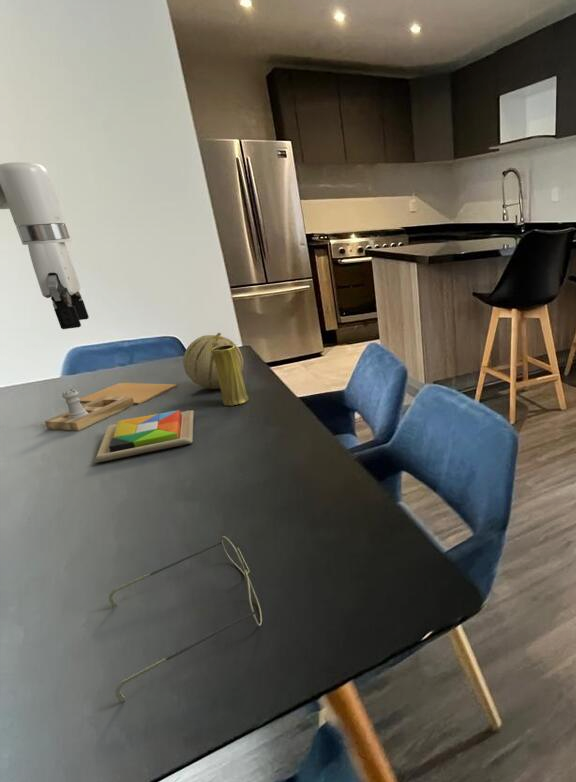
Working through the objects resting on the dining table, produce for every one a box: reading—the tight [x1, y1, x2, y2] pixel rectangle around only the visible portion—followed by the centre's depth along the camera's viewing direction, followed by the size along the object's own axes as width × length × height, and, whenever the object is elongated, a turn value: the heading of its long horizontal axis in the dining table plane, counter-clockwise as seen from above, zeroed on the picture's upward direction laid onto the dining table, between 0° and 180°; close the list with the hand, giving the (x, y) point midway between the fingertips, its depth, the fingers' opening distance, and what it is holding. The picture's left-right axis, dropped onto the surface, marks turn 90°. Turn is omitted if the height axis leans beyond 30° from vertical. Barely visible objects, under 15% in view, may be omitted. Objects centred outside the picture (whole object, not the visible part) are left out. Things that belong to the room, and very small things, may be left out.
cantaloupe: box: [182, 332, 244, 390], centre depth 134 cm, size 15×15×15 cm
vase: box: [212, 345, 250, 407], centre depth 122 cm, size 6×6×14 cm
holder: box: [44, 396, 135, 432], centre depth 121 cm, size 9×16×2 cm, turn 167°
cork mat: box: [79, 382, 178, 405], centre depth 136 cm, size 20×14×1 cm
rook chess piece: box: [61, 388, 89, 419], centre depth 117 cm, size 4×4×8 cm
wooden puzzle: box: [93, 409, 195, 464], centre depth 106 cm, size 18×19×4 cm
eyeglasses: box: [108, 535, 263, 704], centre depth 57 cm, size 16×15×5 cm
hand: (76, 323), depth 100 cm, fingers open, 9 cm apart
